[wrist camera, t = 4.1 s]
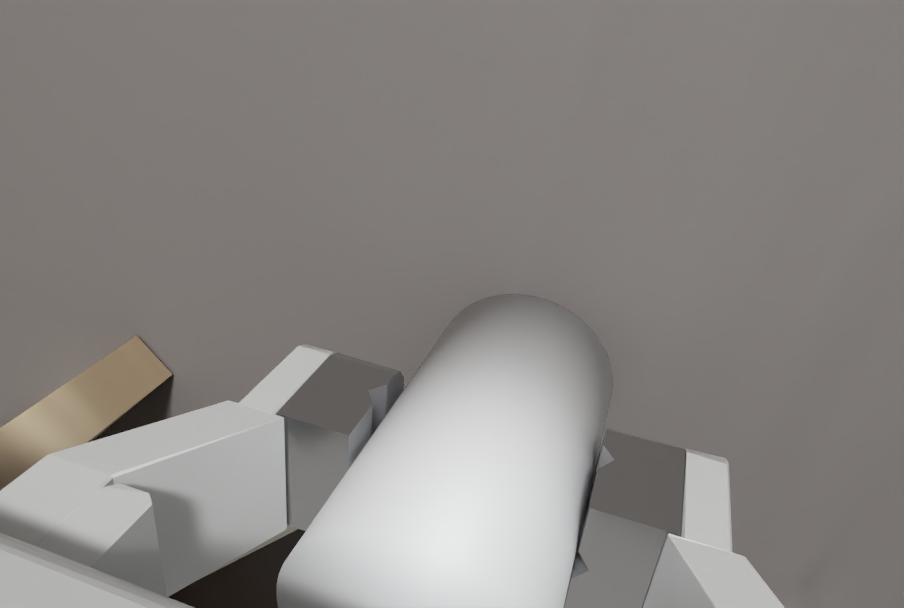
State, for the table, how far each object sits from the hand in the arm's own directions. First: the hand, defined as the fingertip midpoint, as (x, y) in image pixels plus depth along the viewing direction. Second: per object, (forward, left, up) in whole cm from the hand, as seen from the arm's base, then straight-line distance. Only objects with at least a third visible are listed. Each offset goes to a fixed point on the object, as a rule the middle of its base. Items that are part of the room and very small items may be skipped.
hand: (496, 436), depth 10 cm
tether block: (-7, -2, -2) cm, 8 cm away
